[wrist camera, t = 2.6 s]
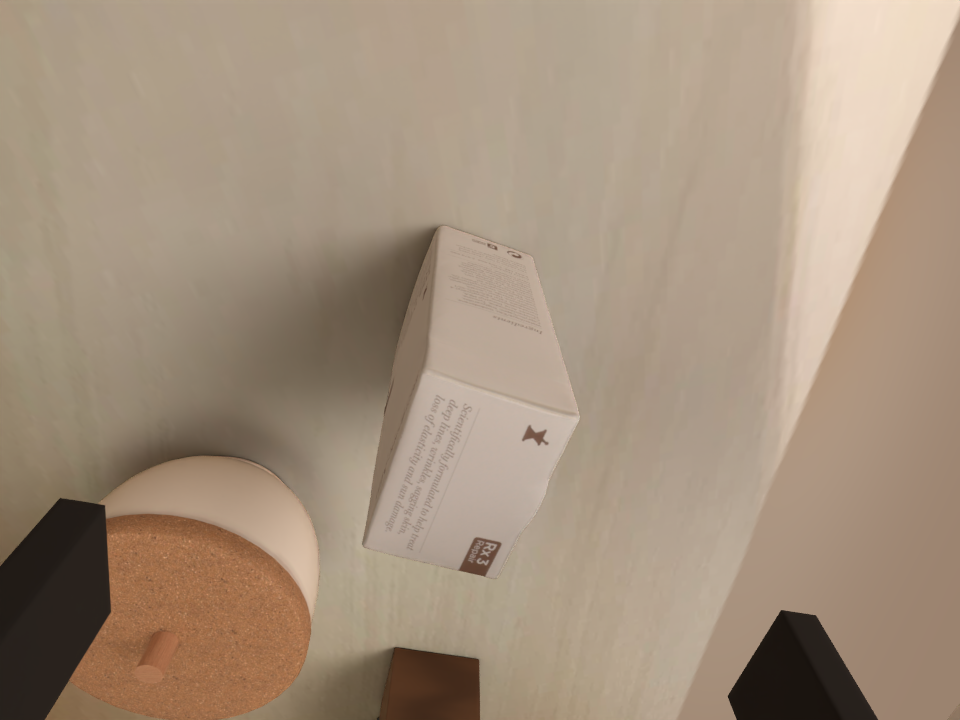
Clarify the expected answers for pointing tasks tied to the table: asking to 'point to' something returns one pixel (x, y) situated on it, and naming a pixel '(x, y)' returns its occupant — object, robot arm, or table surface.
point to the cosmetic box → (469, 410)
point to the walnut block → (431, 687)
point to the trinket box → (203, 591)
